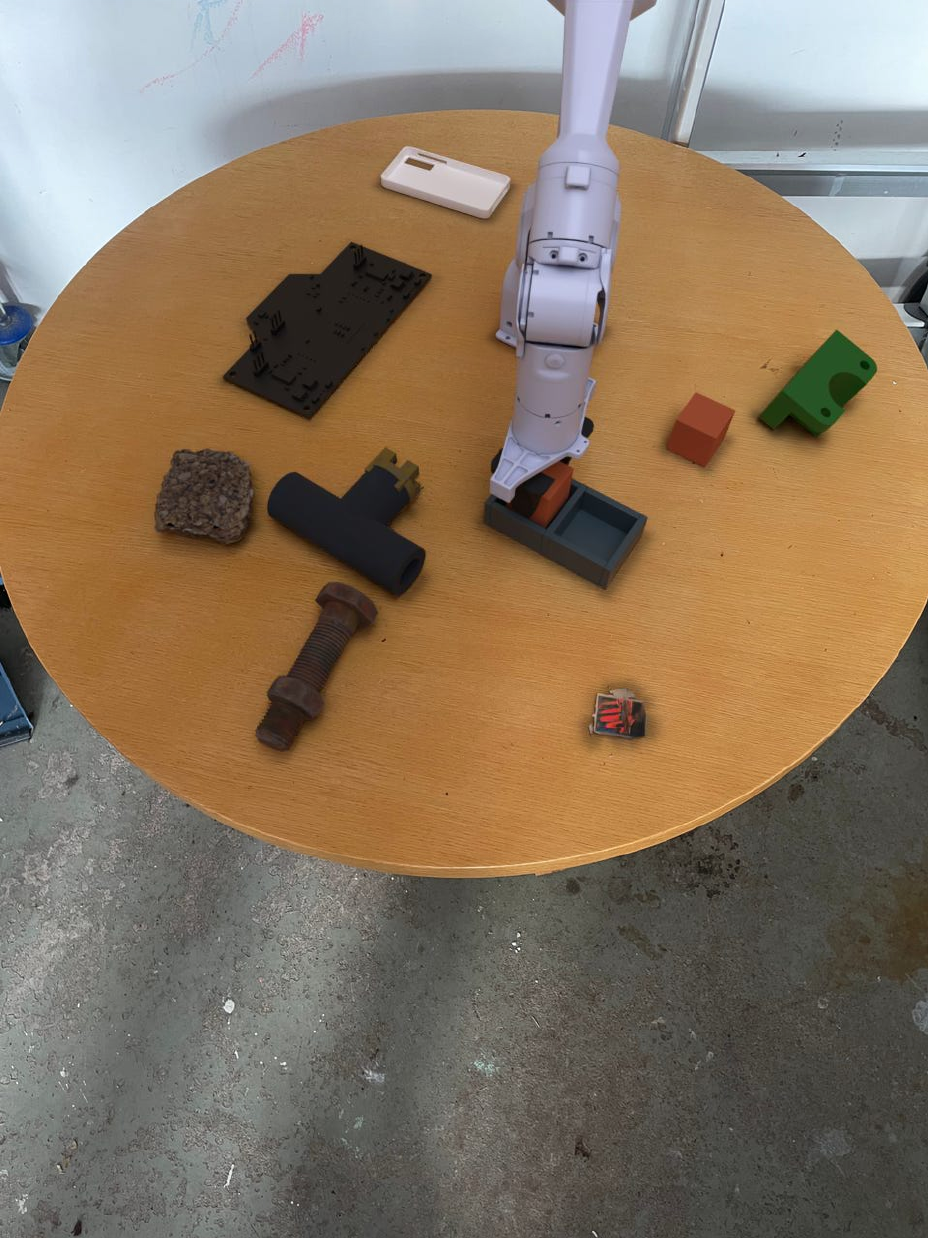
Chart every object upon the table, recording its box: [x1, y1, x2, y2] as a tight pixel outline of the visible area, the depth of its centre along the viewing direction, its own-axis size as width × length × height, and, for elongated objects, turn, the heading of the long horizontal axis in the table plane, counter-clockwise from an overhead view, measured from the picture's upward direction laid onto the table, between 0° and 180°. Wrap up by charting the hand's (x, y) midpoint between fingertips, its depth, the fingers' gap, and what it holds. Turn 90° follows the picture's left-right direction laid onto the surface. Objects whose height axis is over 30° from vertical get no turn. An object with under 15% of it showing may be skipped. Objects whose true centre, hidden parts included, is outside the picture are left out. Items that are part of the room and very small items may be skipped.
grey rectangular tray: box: [483, 477, 649, 591], centre depth 83 cm, size 14×7×3 cm, turn 56°
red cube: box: [666, 391, 736, 468], centre depth 88 cm, size 4×4×4 cm
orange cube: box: [506, 461, 575, 528], centre depth 82 cm, size 4×4×4 cm
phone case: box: [380, 145, 511, 220], centre depth 109 cm, size 7×1×15 cm
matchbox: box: [588, 688, 648, 739], centre depth 75 cm, size 5×5×1 cm
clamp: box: [757, 328, 878, 438], centre depth 90 cm, size 12×6×9 cm, turn 134°
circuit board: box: [222, 241, 433, 420], centre depth 97 cm, size 25×14×3 cm, turn 150°
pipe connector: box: [266, 446, 427, 597], centre depth 83 cm, size 12×5×15 cm
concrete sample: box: [153, 448, 255, 547], centre depth 83 cm, size 12×10×5 cm
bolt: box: [254, 581, 379, 752], centre depth 75 cm, size 6×5×15 cm
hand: (536, 492), depth 82 cm, fingers closed on orange cube, 4 cm apart
